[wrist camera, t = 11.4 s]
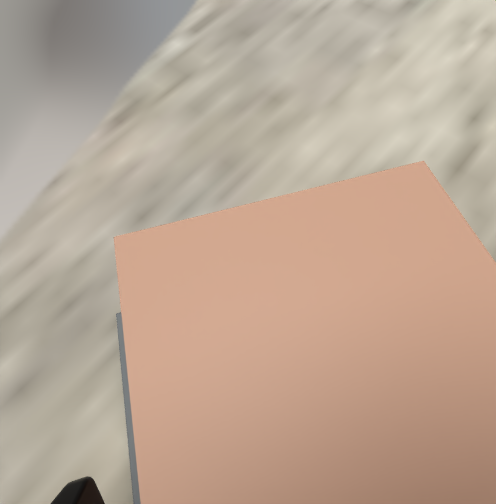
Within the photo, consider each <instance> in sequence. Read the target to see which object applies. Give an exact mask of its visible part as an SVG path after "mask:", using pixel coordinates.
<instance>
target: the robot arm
mask: <svg viewBox="0 0 496 504" xmlns="http://www.w3.org/2000/svg"><path fill="white" fill-rule="evenodd" d="M51 504H105V503H104V501H103V499H102V496H101V494H100V492H99V490H98V488H97V486H96V483H95V481H94V480H93V478H91V477H84V478H81V479H78V480H74V481H72V482H70V483H68V484H67V485H66V486H65V487H64V488H63V489H62V491H61V492H60V493H59V494H58V495H57V497H56V498H55V499H54V500H53V501H52V503H51Z"/></svg>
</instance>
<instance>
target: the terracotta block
mask: <svg viewBox="0 0 496 504" xmlns="http://www.w3.org/2000/svg"><path fill="white" fill-rule="evenodd" d="M114 245H115V255H116V265H117V274H118V284H119V294H120V304H121V314H122V324H123V334H124V344H125V354H126V363H127V373H128V383H129V393H130V403H131V413H132V423H133V433H134V443H135V452H136V462H137V472H138V482H139V492H140V502H141V504H496V262H495V261H494V260H493V258H492V257H491V255H490V254H489V252H488V251H487V250H486V248H485V247H484V245H483V244H482V243H481V241H480V240H479V238H478V237H477V235H476V234H475V233H474V231H473V230H472V228H471V227H470V226H469V224H468V223H467V221H466V220H465V218H464V217H463V216H462V214H461V213H460V211H459V210H458V209H457V207H456V206H455V204H454V203H453V201H452V200H451V199H450V197H449V196H448V194H447V193H446V192H445V190H444V189H443V187H442V186H441V184H440V183H439V182H438V180H437V179H436V177H435V176H434V175H433V173H432V172H431V170H430V169H429V167H428V166H427V165H426V163H425V162H424V161H421V162H417V163H413V164H408V165H404V166H400V167H396V168H392V169H388V170H384V171H380V172H376V173H372V174H368V175H364V176H360V177H356V178H352V179H347V180H343V181H339V182H335V183H331V184H327V185H323V186H319V187H315V188H311V189H307V190H303V191H299V192H295V193H291V194H287V195H282V196H278V197H274V198H270V199H266V200H262V201H258V202H254V203H250V204H246V205H242V206H238V207H234V208H230V209H226V210H221V211H217V212H213V213H209V214H205V215H201V216H197V217H193V218H189V219H185V220H181V221H177V222H173V223H169V224H165V225H161V226H156V227H152V228H148V229H144V230H140V231H136V232H132V233H128V234H124V235H120V236H116V237H114Z"/></svg>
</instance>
